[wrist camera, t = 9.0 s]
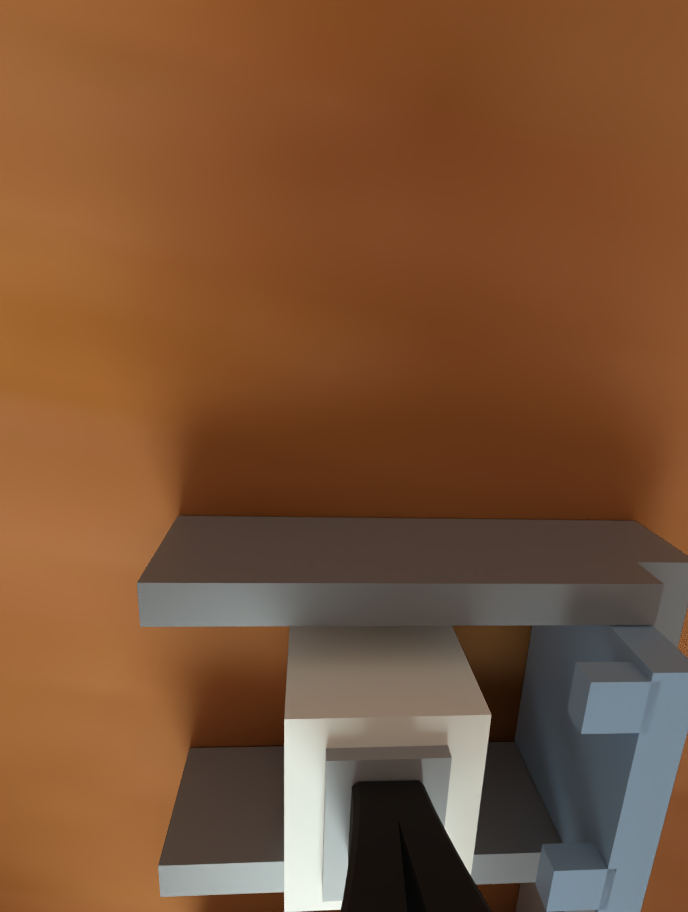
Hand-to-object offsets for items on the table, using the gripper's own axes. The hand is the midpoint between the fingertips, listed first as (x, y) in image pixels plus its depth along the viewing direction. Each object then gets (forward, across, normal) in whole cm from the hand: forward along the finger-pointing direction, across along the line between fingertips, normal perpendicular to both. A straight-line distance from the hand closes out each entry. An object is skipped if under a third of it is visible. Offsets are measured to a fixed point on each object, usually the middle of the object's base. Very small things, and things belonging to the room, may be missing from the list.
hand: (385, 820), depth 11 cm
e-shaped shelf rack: (+5, -1, +8) cm, 9 cm away
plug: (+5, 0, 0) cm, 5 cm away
